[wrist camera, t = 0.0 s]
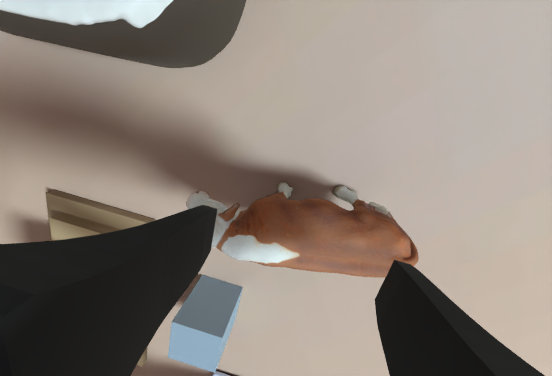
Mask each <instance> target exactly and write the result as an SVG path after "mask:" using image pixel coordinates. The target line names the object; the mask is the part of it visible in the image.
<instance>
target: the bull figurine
mask: <svg viewBox="0 0 552 376" xmlns="http://www.w3.org/2000/svg"><path fill="white" fill-rule="evenodd" d="M277 190H278V191H279V192H277V193H275V194H273V195H269V196H267V197H265V198H261V199H258V200H256V201H254V202H253V203H252V204H251V205H250V206H249V208H248V209H247V210H244V211H237V209H238V208H239V206H240V204H239V203H236V204H234V205H233V206H232V207H231V208H229V209H228V208H227V207H226V206H225V205H224V204H222V203H221V202H218V201H215V200H211V199H209V196H208V194H207V193H205V192H203V191H198V192H196V193H195V192H194V193H192V194H191V195H190V196H189V197H188V199H187V201H186V206H187V207H188V208H189V209H191V208H194V207H197V206H201V205H206V206H209V207H213V208H216V209H217V215H216V221H215V228H214V234H213V240H212V246H211V247H215V248H217V249H219V250H220V251H222V252H223V253H225V254H226V255H228V256H230V257H232V258H234V259H238V260H247V261H251V262H255V263H259V264H261V265H265V266H271V267H287V268H292V269H299V270H307V271H316V272H329V273H340V274H347V275H353V276H363V277H386V276H387V274H388V272H389V270H390V268H391V265H392V263H393V261H394V260H398V261H401V262H405V263H408V264H411V265H412V266H414V265H415V264H416V263H417V262H418V252H417V249H416V247H415V245H414V243H413V242H412V240H411V239H410V237H409V236H408V235H407V234H406V232H405V231H404V230H403V229H402V228H401V227H400V226H399V225H398V224H397V222H396V221H395V220H394V219H393V217H392V215H391V214H390V212H389V211H388V210H387V209H386V208H385V207H384V206H381V205H379V204H376V203H374V202H370V203H369V204H367V203H365V202H364V201H361V200H359V199H358V198H357V196H356V193H355V191H349V190H348V189H347V188H346V187H345V186H342V185H341V186H337V187H336V188H335V190H334V194H335V195H336V196H337V197H338V198H340V199H342V200H345V201H347V202H349V203H351V204H352V206H353V207H354V210H351V211H348V210H345V209H343V208H341V207H339V206H338V205H336V204H334V203H332V202H330V201H327V200H323V199H304V200H300V201H295V200H287V197H290V196H291V193H292V191H293V188H292V187H289V186H288V184H287V183H285V182H280V183H279V184H278V186H277Z"/></svg>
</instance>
